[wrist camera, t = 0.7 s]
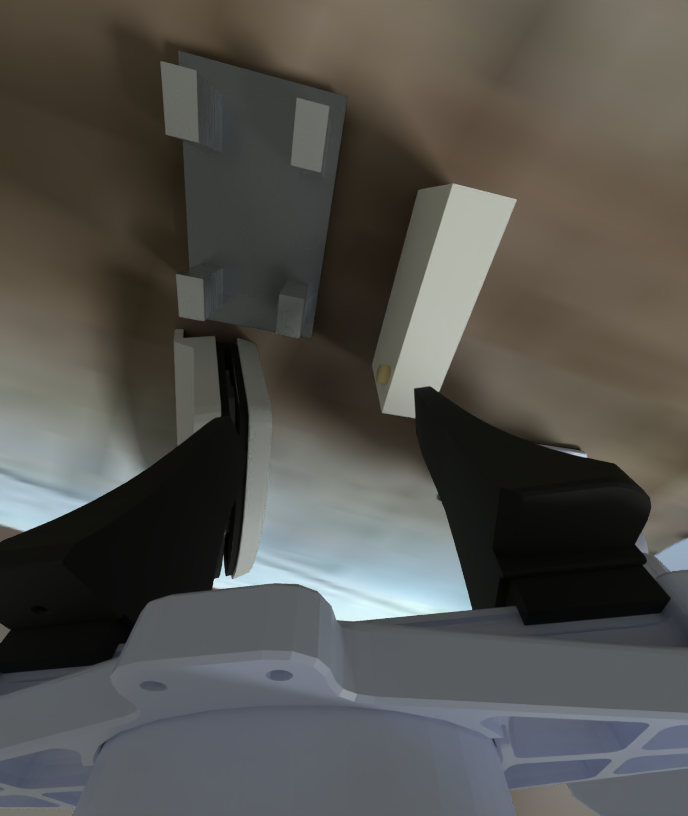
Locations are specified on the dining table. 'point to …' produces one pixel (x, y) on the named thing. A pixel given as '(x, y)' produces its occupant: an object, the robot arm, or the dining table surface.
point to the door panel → (435, 289)
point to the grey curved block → (252, 416)
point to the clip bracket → (252, 191)
